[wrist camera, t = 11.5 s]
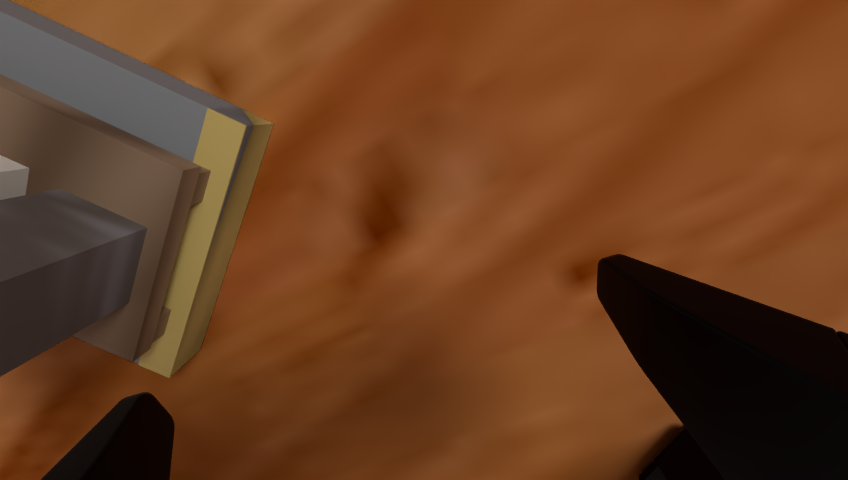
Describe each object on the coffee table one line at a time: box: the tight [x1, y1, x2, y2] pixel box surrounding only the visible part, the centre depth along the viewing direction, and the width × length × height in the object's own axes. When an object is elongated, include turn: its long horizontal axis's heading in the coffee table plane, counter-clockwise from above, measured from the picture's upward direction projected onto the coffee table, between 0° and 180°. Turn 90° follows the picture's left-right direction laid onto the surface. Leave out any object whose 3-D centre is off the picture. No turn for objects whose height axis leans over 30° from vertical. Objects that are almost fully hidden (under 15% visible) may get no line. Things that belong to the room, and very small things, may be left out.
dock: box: [0, 0, 273, 378], centre depth 19 cm, size 14×13×3 cm
